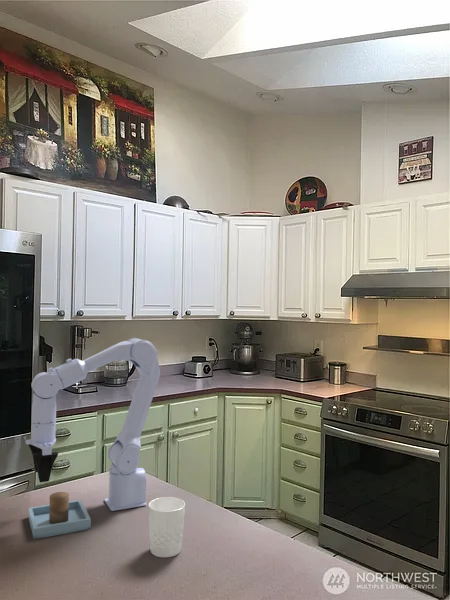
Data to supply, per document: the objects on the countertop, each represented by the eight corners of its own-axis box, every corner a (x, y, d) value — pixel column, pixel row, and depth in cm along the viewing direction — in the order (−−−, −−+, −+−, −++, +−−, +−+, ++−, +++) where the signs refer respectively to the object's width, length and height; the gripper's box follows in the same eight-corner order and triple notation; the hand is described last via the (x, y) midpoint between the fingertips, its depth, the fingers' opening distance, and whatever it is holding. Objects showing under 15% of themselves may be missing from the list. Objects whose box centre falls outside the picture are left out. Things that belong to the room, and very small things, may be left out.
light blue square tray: (80, 508, 126) (80, 499, 126) (90, 528, 115) (90, 519, 115) (28, 517, 121) (28, 507, 121) (33, 539, 109) (33, 528, 109)
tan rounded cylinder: (67, 515, 121) (67, 490, 121) (69, 522, 117) (69, 497, 117) (48, 518, 119) (48, 493, 119) (49, 525, 115) (50, 500, 115)
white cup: (189, 545, 108) (190, 500, 109) (174, 562, 101) (175, 513, 101) (157, 538, 111) (158, 494, 111) (140, 555, 103) (142, 508, 104)
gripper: (23, 416, 126) (21, 469, 126) (29, 429, 113) (27, 488, 113) (52, 414, 129) (50, 466, 129) (61, 427, 116) (59, 484, 116)
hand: (41, 476), depth 121 cm, fingers open, 7 cm apart
